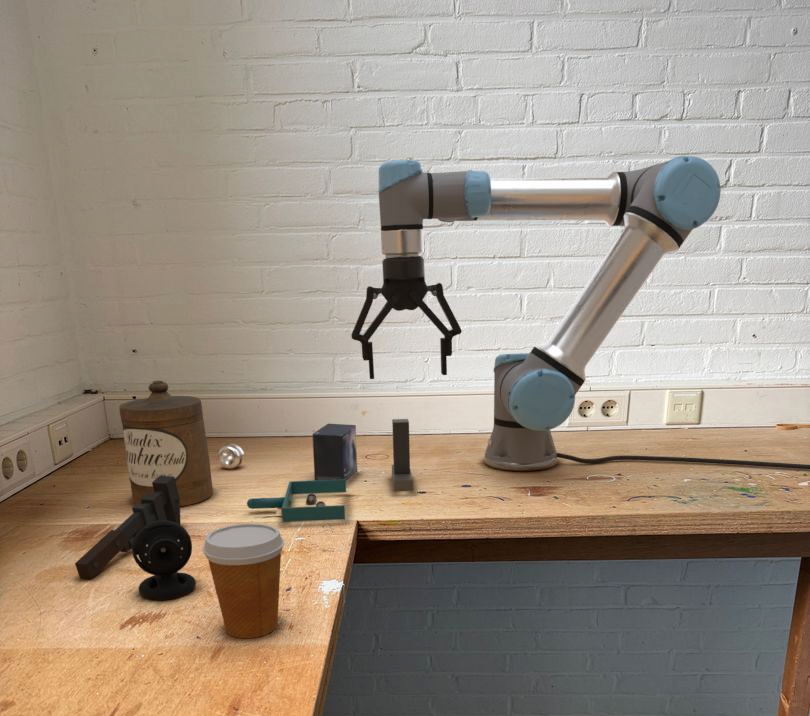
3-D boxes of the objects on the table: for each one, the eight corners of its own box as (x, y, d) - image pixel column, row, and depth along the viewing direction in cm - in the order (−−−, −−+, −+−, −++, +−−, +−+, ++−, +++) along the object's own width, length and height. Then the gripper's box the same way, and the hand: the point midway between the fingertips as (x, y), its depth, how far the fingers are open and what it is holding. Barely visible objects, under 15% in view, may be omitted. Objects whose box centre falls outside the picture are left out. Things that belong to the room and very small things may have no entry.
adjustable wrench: (87, 604, 117) (171, 519, 137) (103, 606, 116) (185, 520, 137) (70, 556, 113) (159, 475, 133) (86, 557, 112) (174, 476, 132)
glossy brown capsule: (328, 505, 142) (321, 498, 141) (327, 512, 138) (320, 505, 137) (320, 511, 142) (313, 504, 141) (319, 519, 138) (312, 511, 137)
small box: (345, 487, 156) (342, 434, 152) (313, 486, 157) (310, 433, 153) (359, 473, 165) (357, 423, 162) (329, 472, 167) (326, 422, 163)
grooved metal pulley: (245, 467, 173) (243, 444, 171) (238, 470, 170) (236, 447, 169) (225, 465, 174) (223, 443, 173) (218, 469, 172) (215, 446, 170)
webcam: (141, 605, 105) (131, 533, 101) (135, 585, 111) (125, 517, 108) (201, 594, 108) (193, 524, 104) (192, 575, 114) (184, 509, 111)
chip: (307, 491, 146) (306, 500, 146) (306, 498, 142) (304, 507, 142) (317, 493, 146) (315, 502, 147) (316, 500, 142) (314, 509, 143)
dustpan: (346, 495, 151) (345, 479, 149) (345, 524, 135) (344, 505, 133) (253, 499, 150) (252, 482, 149) (241, 528, 134) (239, 510, 133)
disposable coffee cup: (217, 613, 102) (207, 524, 98) (292, 608, 103) (285, 520, 99) (206, 647, 93) (195, 551, 89) (288, 642, 94) (280, 546, 90)
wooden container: (116, 505, 148) (97, 386, 141) (164, 484, 161) (150, 374, 154) (183, 511, 143) (168, 388, 136) (228, 489, 156) (216, 376, 149)
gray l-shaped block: (409, 478, 161) (407, 414, 157) (413, 495, 150) (411, 426, 145) (392, 479, 161) (390, 415, 156) (394, 495, 149) (392, 427, 145)
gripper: (468, 253, 147) (470, 369, 154) (333, 259, 145) (341, 376, 153) (475, 252, 140) (477, 375, 147) (333, 259, 138) (341, 382, 146)
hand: (408, 376), depth 150 cm, fingers open, 13 cm apart
